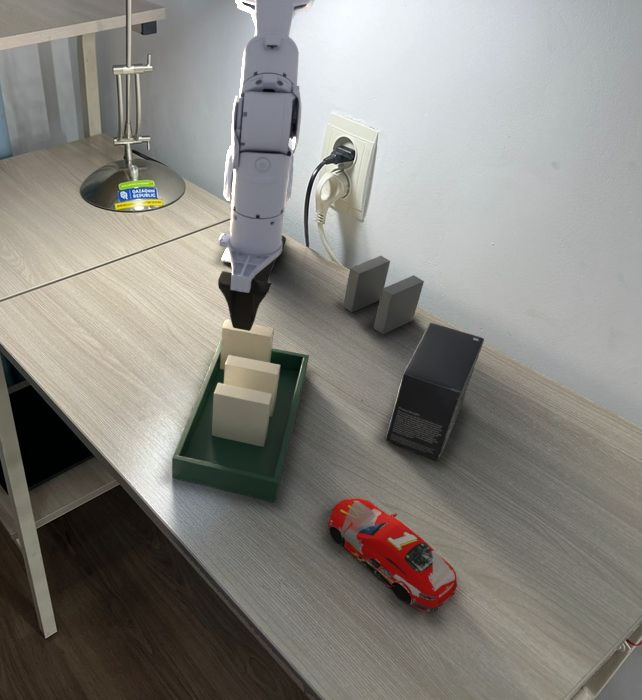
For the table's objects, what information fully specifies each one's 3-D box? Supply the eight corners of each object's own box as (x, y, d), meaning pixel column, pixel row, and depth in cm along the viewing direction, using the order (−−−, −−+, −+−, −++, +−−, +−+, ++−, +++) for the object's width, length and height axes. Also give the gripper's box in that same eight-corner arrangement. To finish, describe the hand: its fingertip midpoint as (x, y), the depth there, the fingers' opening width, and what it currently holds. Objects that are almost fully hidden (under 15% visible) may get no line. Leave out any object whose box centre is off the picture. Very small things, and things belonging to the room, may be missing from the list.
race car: (315, 526, 69) (320, 500, 67) (352, 500, 72) (359, 475, 69) (422, 625, 61) (433, 600, 59) (460, 592, 64) (472, 567, 61)
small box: (408, 387, 86) (428, 318, 79) (462, 405, 83) (487, 337, 76) (381, 440, 78) (401, 370, 72) (439, 463, 76) (465, 392, 69)
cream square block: (223, 360, 88) (225, 319, 84) (269, 369, 87) (274, 328, 83) (219, 369, 87) (222, 327, 83) (266, 378, 86) (271, 337, 82)
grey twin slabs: (342, 306, 99) (349, 267, 95) (372, 293, 101) (381, 255, 97) (382, 334, 94) (392, 294, 90) (413, 320, 96) (424, 281, 92)
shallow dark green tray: (219, 357, 90) (221, 338, 88) (306, 373, 87) (309, 354, 85) (171, 478, 74) (172, 458, 72) (275, 502, 72) (278, 483, 70)
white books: (225, 396, 83) (228, 354, 79) (275, 406, 82) (280, 364, 78) (211, 435, 78) (213, 393, 74) (263, 447, 77) (269, 404, 73)
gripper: (237, 172, 80) (230, 271, 89) (204, 233, 70) (200, 338, 78) (297, 181, 79) (284, 280, 87) (274, 243, 68) (262, 350, 77)
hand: (249, 308), depth 83 cm, fingers open, 7 cm apart
